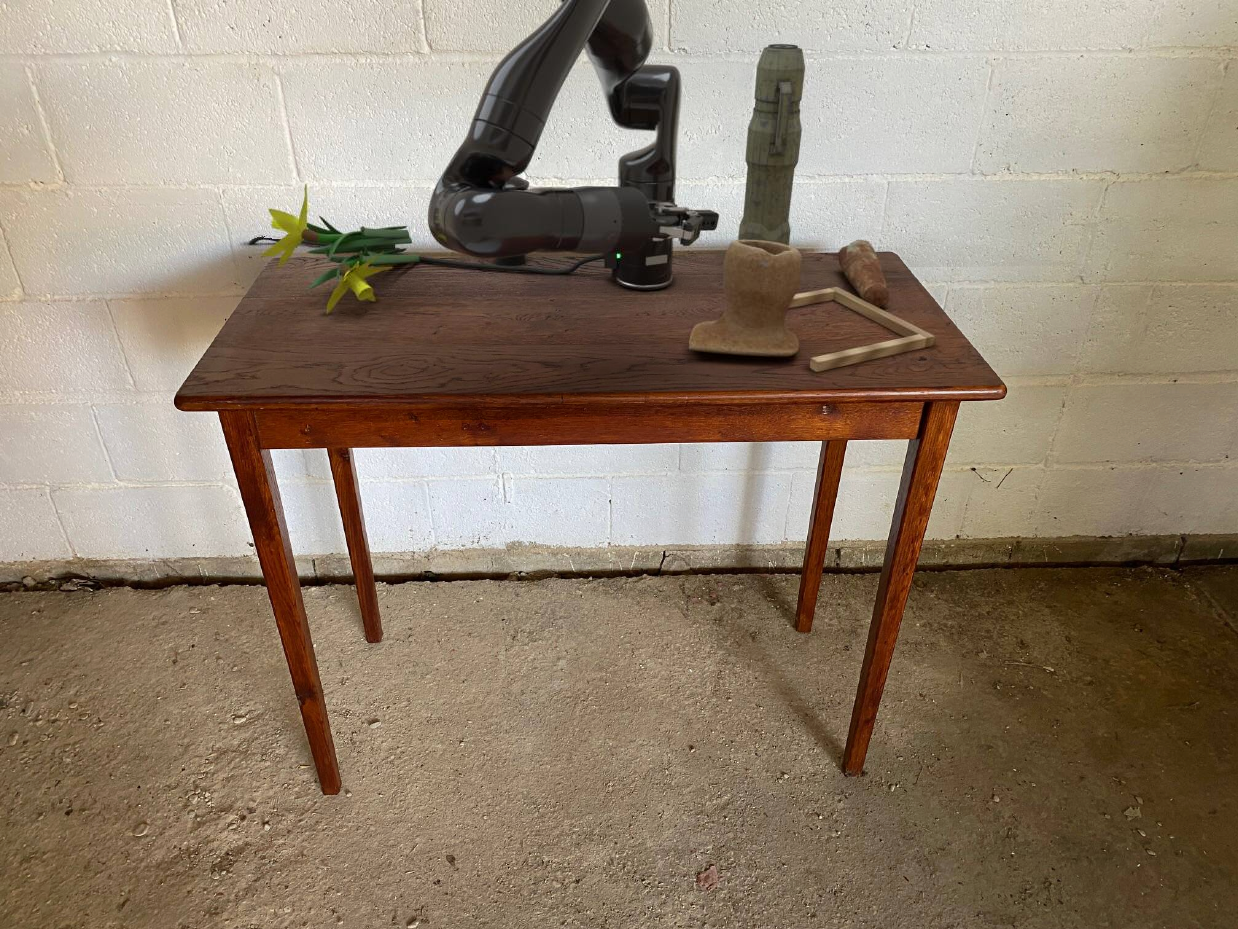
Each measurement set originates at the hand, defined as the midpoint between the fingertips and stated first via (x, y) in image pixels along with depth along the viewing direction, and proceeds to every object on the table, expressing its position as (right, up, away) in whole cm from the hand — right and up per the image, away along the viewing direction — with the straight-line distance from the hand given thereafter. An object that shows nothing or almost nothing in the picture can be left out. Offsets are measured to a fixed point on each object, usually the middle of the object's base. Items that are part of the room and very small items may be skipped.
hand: (714, 220), depth 106 cm
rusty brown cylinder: (+29, -2, +33) cm, 44 cm away
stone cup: (+6, -15, +12) cm, 20 cm away
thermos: (+13, +5, +43) cm, 46 cm away
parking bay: (+18, -11, +17) cm, 28 cm away
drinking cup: (-31, +5, +43) cm, 54 cm away
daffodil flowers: (-54, -2, +31) cm, 63 cm away
